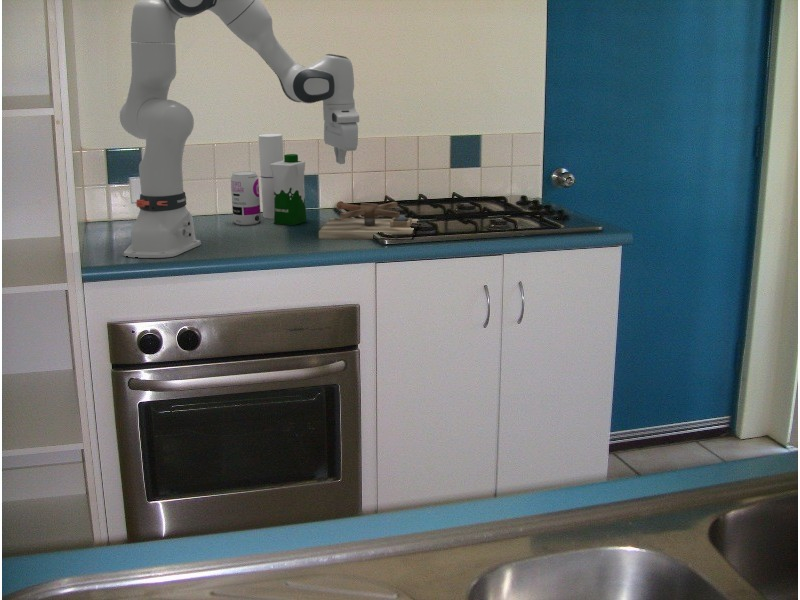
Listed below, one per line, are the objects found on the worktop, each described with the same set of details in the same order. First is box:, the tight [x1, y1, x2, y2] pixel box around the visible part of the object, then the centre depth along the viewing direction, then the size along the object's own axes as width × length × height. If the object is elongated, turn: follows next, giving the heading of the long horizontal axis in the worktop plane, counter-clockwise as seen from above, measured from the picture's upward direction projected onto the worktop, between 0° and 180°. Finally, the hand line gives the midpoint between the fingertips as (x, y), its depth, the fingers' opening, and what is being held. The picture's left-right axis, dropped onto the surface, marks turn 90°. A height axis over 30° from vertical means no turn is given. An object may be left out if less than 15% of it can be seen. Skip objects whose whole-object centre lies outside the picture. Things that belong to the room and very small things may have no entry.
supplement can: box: [230, 170, 262, 226], centre depth 274 cm, size 8×8×15 cm
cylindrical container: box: [258, 133, 284, 220], centre depth 282 cm, size 7×7×25 cm
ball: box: [396, 214, 407, 221], centre depth 260 cm, size 3×3×3 cm
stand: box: [318, 217, 419, 240], centre depth 261 cm, size 18×26×4 cm
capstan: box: [336, 200, 401, 219], centre depth 260 cm, size 22×24×3 cm
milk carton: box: [270, 153, 307, 226], centre depth 273 cm, size 9×9×20 cm
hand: (340, 163), depth 261 cm, fingers closed
